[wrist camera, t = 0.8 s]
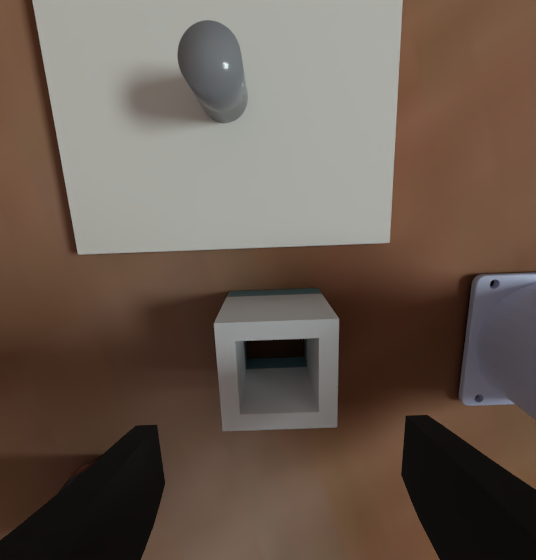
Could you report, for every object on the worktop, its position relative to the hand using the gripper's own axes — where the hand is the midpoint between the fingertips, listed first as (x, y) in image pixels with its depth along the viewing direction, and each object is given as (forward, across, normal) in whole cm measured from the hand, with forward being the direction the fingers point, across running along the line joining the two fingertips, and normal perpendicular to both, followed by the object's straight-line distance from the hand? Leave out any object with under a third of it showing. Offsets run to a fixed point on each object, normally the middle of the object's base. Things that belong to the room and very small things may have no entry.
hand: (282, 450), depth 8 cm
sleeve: (+9, 0, 0) cm, 9 cm away
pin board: (+9, +2, -12) cm, 15 cm away
